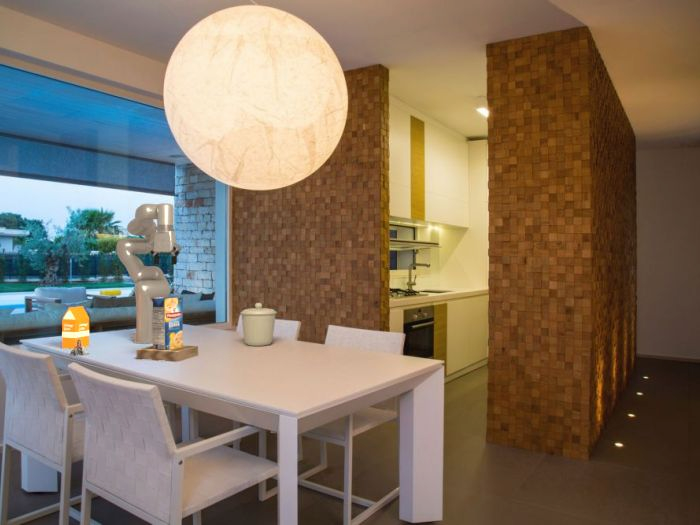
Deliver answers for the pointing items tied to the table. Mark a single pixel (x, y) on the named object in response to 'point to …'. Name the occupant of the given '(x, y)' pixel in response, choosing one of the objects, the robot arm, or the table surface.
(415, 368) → the table surface
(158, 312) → the beverage box
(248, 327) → the canister
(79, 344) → the house of cards
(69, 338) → the orange juice
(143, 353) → the tan flat block
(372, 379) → the table surface
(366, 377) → the table surface
